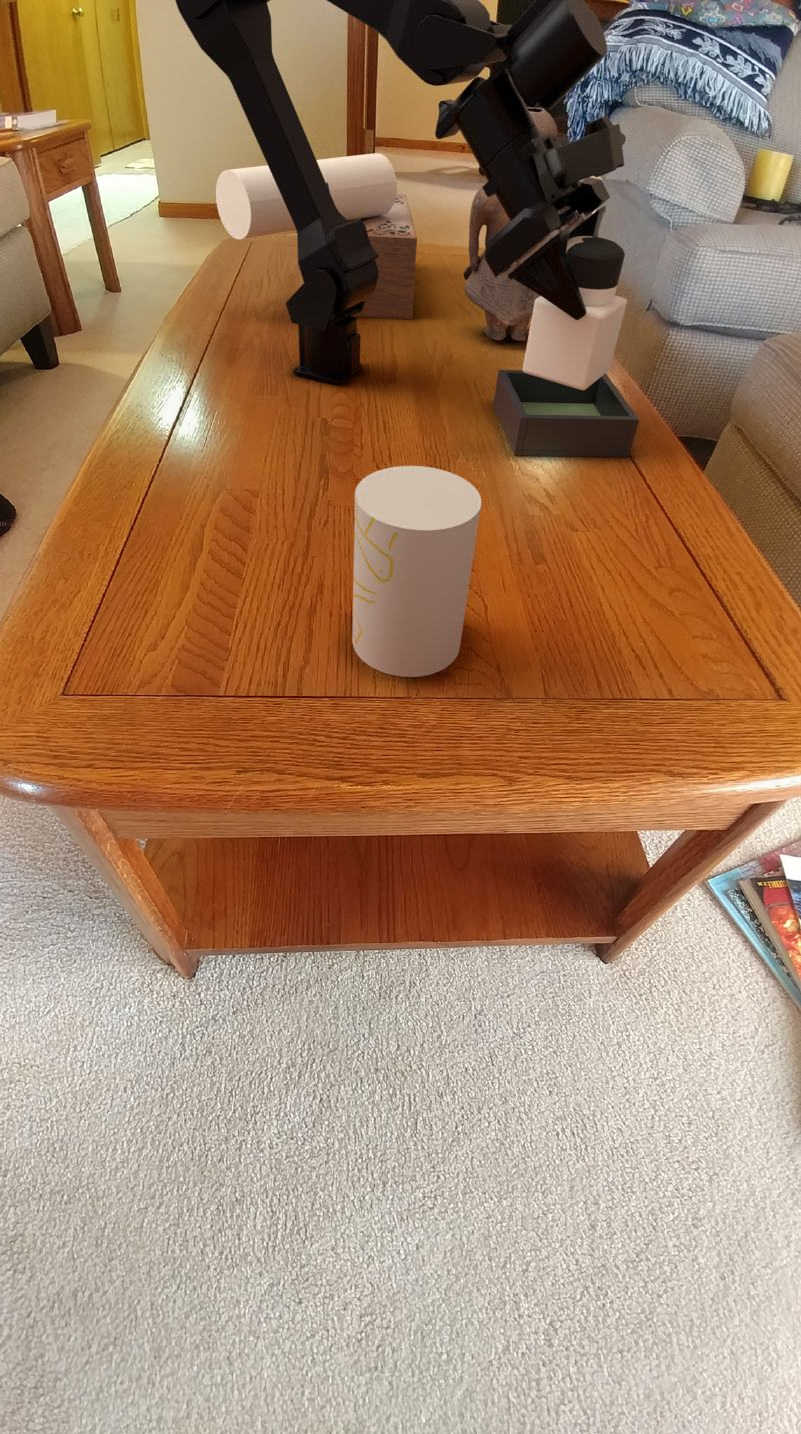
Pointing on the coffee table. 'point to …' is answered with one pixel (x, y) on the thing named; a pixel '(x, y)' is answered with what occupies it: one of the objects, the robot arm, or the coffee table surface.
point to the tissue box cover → (392, 262)
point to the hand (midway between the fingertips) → (594, 306)
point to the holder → (563, 417)
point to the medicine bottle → (589, 342)
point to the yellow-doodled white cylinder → (412, 567)
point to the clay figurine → (501, 294)
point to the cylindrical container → (260, 208)
